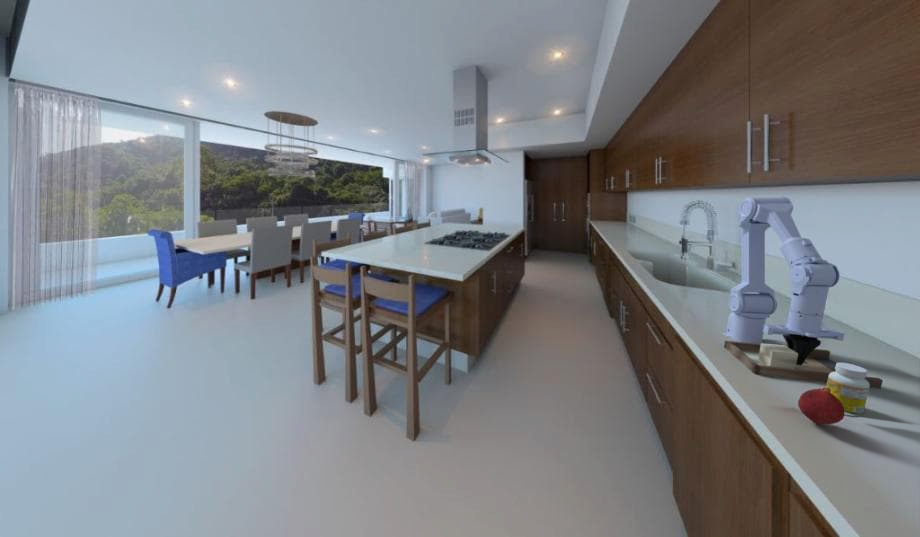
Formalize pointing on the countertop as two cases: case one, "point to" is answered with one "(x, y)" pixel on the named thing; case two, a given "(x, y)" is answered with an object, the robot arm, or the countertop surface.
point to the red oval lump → (821, 406)
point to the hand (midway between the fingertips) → (796, 363)
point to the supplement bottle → (849, 387)
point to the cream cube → (777, 356)
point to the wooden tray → (811, 369)
